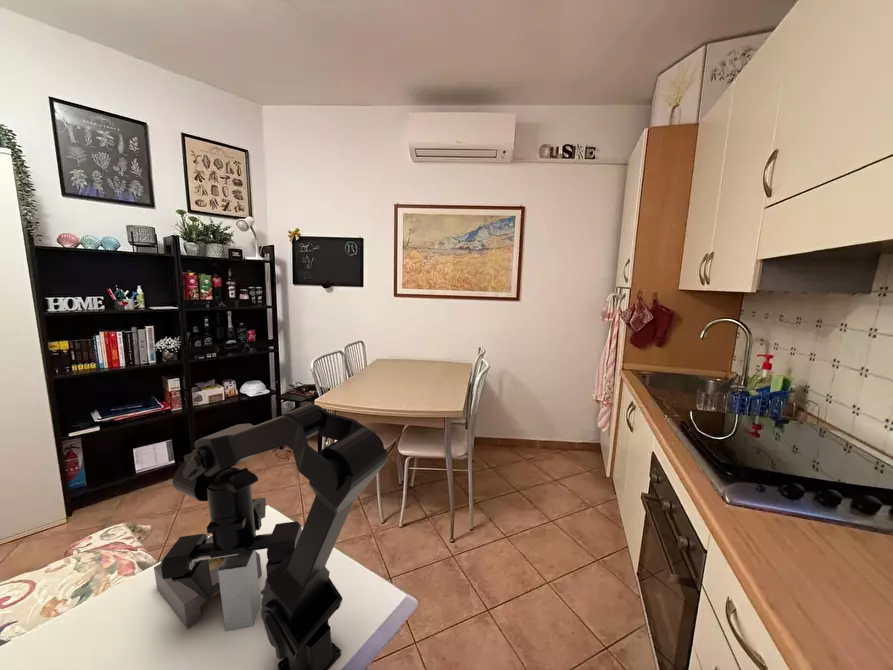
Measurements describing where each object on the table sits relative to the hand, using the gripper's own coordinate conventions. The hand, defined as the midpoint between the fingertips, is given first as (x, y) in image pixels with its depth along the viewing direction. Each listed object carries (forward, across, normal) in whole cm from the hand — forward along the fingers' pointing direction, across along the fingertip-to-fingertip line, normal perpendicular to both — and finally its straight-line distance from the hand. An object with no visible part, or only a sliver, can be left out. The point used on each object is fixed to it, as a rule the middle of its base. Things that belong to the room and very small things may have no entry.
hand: (241, 593), depth 56 cm
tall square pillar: (+4, 0, 0) cm, 4 cm away
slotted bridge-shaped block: (+4, +8, -8) cm, 13 cm away
